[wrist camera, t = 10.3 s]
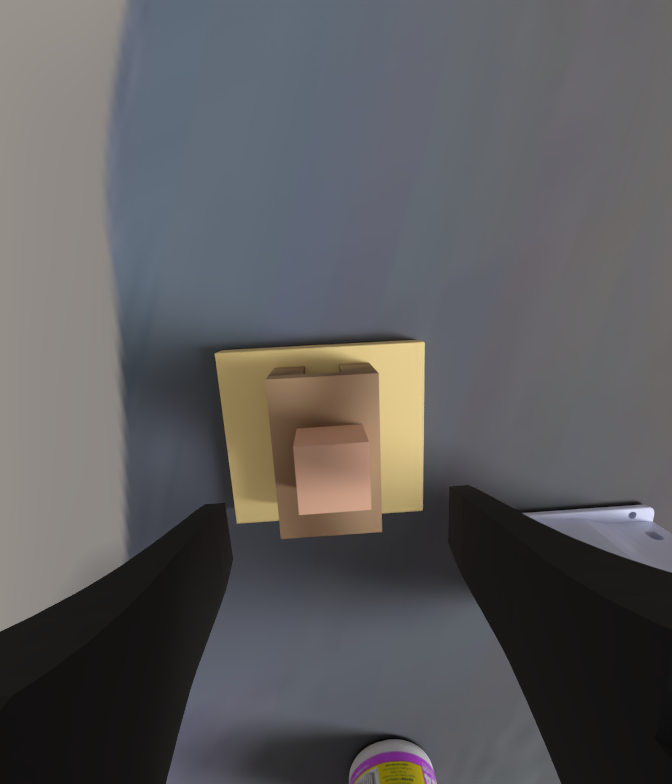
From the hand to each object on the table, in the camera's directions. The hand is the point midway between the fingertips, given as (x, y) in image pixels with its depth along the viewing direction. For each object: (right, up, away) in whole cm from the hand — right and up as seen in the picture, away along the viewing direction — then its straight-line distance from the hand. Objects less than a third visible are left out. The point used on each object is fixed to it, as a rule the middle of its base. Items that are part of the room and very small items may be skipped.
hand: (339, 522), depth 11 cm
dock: (-1, +2, +10) cm, 10 cm away
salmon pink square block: (0, +1, +5) cm, 5 cm away
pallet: (-1, +2, +8) cm, 8 cm away
